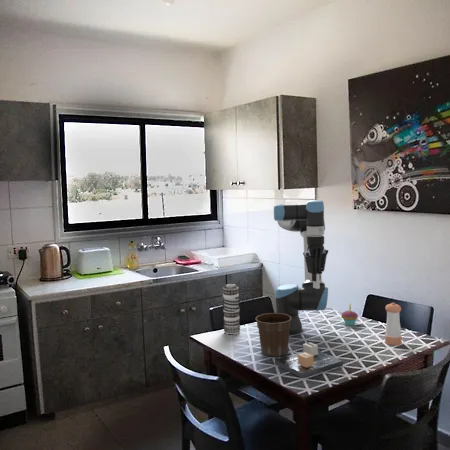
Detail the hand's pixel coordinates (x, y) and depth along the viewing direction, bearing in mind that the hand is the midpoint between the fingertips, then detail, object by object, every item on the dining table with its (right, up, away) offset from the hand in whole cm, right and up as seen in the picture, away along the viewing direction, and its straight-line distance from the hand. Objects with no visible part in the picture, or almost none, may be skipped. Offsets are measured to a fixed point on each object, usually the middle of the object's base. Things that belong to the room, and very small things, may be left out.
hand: (316, 287), depth 216 cm
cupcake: (+25, -25, +40) cm, 54 cm away
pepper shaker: (+38, -27, +11) cm, 48 cm away
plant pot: (-18, -30, +4) cm, 35 cm away
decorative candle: (-37, -28, +34) cm, 57 cm away
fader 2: (-8, -29, -17) cm, 35 cm away
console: (-5, -31, -11) cm, 33 cm away
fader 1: (-4, -28, -6) cm, 29 cm away
